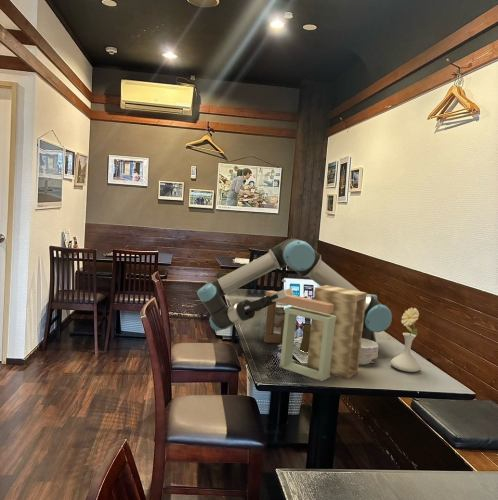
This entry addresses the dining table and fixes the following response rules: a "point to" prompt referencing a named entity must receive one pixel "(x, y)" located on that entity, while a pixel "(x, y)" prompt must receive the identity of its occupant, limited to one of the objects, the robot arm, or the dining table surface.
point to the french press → (279, 314)
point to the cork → (305, 338)
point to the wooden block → (269, 335)
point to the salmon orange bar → (304, 303)
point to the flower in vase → (407, 344)
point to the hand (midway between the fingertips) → (288, 292)
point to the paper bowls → (368, 351)
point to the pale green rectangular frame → (325, 346)
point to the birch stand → (339, 330)
